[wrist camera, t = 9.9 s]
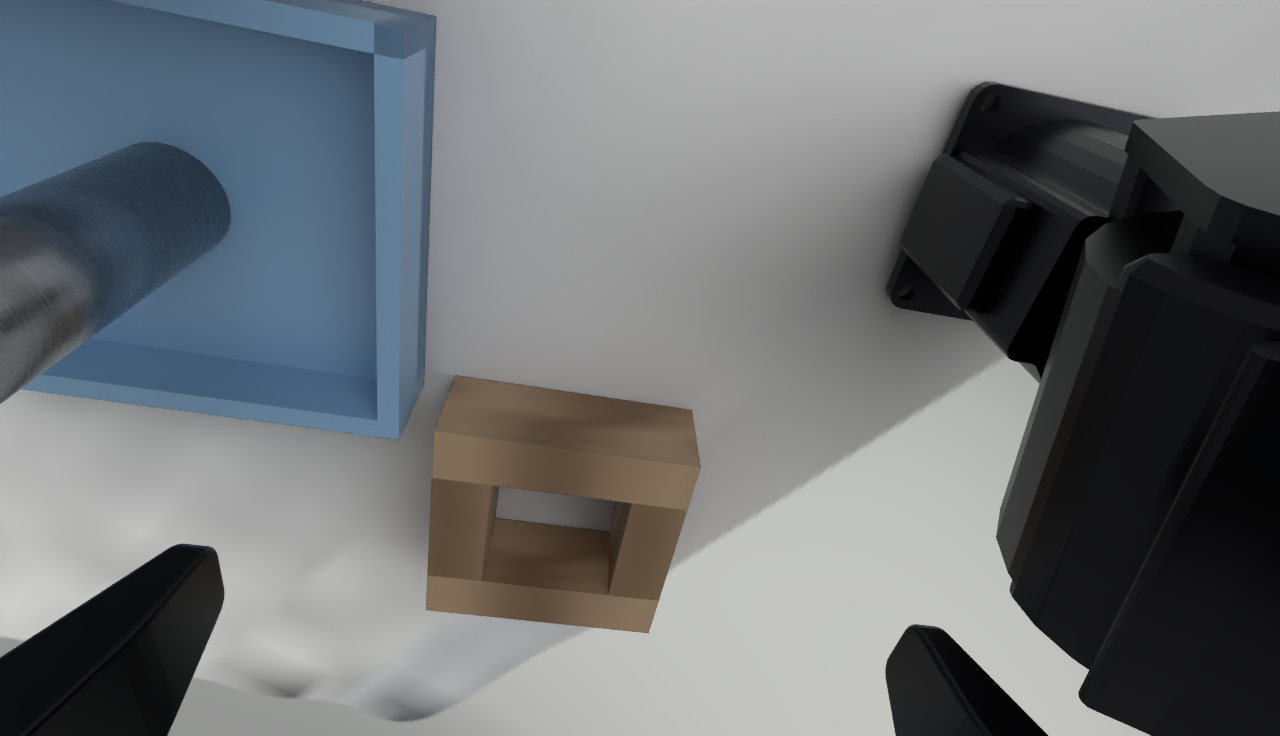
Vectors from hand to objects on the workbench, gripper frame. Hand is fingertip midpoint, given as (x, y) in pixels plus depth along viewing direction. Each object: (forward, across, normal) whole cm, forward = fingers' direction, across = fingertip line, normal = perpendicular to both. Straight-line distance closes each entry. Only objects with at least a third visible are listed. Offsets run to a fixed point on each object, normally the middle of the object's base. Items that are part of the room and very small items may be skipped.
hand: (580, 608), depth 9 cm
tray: (+13, +12, 0) cm, 17 cm away
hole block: (+13, 0, +10) cm, 16 cm away
